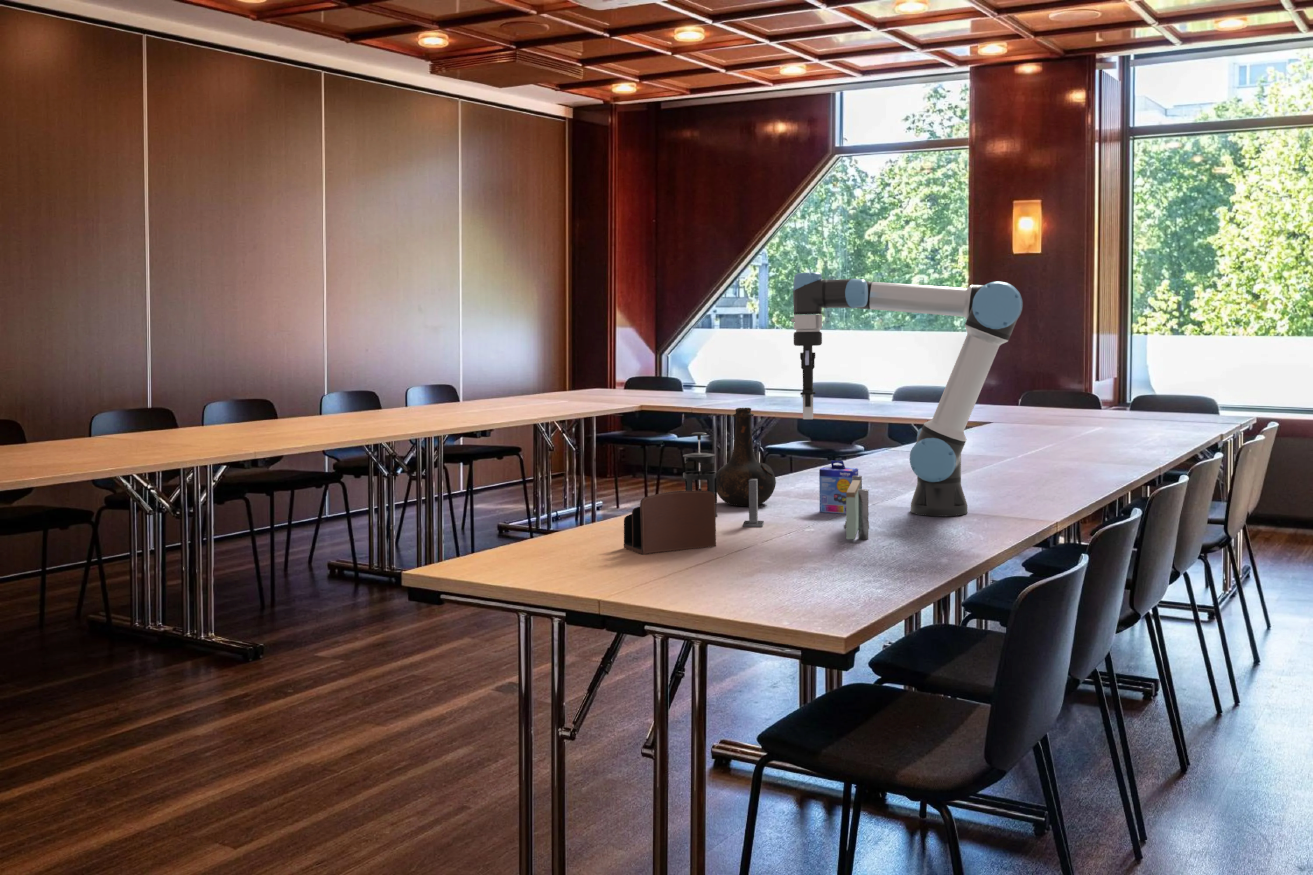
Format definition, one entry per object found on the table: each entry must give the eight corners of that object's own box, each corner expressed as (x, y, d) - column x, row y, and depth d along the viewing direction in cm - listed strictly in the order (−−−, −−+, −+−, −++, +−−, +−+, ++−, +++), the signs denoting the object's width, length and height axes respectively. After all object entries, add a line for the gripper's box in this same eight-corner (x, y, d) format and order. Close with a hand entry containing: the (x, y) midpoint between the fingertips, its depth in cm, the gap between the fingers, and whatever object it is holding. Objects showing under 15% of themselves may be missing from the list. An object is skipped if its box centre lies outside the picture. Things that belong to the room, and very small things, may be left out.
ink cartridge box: (818, 512, 341) (818, 460, 339) (824, 509, 346) (824, 458, 344) (853, 514, 336) (853, 461, 335) (859, 511, 341) (859, 459, 340)
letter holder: (716, 547, 294) (716, 488, 292) (642, 555, 284) (641, 494, 283) (696, 540, 302) (695, 483, 301) (623, 548, 293) (622, 489, 292)
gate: (852, 523, 316) (852, 480, 315) (860, 523, 315) (860, 480, 314) (846, 538, 295) (846, 492, 294) (854, 539, 294) (854, 492, 293)
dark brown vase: (760, 510, 346) (759, 410, 343) (703, 506, 355) (702, 409, 352) (786, 501, 362) (785, 406, 359) (731, 498, 370) (730, 405, 368)
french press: (701, 520, 331) (699, 434, 329) (674, 517, 337) (673, 433, 335) (728, 514, 340) (727, 431, 337) (701, 511, 346) (700, 429, 344)
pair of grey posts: (868, 524, 320) (868, 474, 319) (869, 539, 298) (869, 486, 297) (744, 523, 325) (744, 474, 324) (736, 538, 303) (736, 485, 302)
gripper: (794, 330, 338) (795, 416, 340) (792, 331, 325) (792, 421, 327) (822, 330, 337) (822, 416, 339) (821, 331, 324) (821, 420, 326)
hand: (808, 418), depth 333 cm, fingers closed
